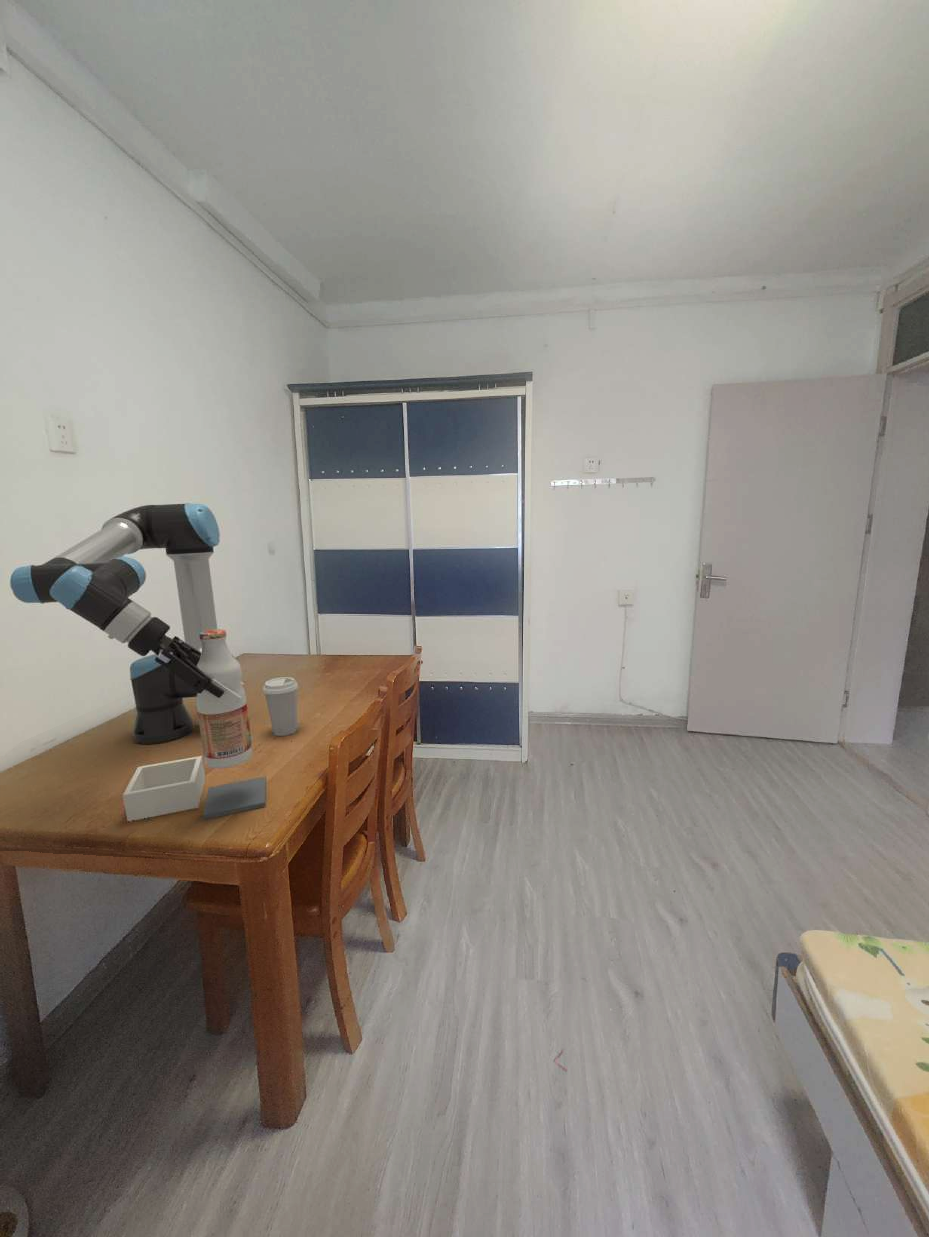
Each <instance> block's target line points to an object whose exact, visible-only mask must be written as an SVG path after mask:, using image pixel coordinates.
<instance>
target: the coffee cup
mask: <svg viewBox="0 0 929 1237" xmlns="http://www.w3.org/2000/svg"><path fill="white" fill-rule="evenodd" d="M298 688H299V684H298V683H297V681H296V680H295V678H293V677H289V676H287V677H285V676H284V677H282V676H281V677H276V678H271V679H269V680H267V681H265V683H264V686H263V687H262V693H263V694H264V696H265V701H266V706H267V709H268V713H269V714H268V715H269V719H270V723H271V724H270V725H271V728H272V732H273V735H274V736H277V737H285V736H286V737H287V736H291V735H293V734H295V733H296V732H297V731H298ZM290 734H291V735H290Z"/></svg>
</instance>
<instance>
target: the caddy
mask: <svg viewBox="0 0 929 1237" xmlns="http://www.w3.org/2000/svg"><path fill="white" fill-rule="evenodd" d="M205 781H206V772H205V766H204V760H203V756H202V755H200V756H194V757H193V756H192V757H189V758H182V759H175V760H170V761H163V762H159V763H154V764H147V765H141V766H137V768H136V770H135V772H134V774H133V776H132V778H131V779H130V781H129V783H128V785H127V786H126V789H125V791H124V792H123V794H122V797H123V798H122V799H123V804H124V810H125V815H126V820H127V822H128V821H130V822H133V821H132V820H135V821H139V820H144V818H145V819H148V817H149V818H152V817H153V818H155V817H158V816H163V815H169V814H173V813H179V812H182V811H183V812H184V811H187V810H188V811H189V810H194V809H198V808H199V806H200V803H201V802H200V801H201V798H202V794H203V791H204V787H205V784H206V782H205Z"/></svg>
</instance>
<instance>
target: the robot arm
mask: <svg viewBox="0 0 929 1237" xmlns="http://www.w3.org/2000/svg"><path fill="white" fill-rule="evenodd" d="M220 534H221V533H220V529H219V525H218V522H217V519H216V517H215V515H214V513H213V511H212V510H211V509H210V508H209V507H208V506H207V505H205V504H203V503H189V502H188V503H174V504H173V503H172V504H146V505H142V506H141V505H140V506H137V507H134V508H131V509H129V510H127V511H124V512H121V513H119V514H117V515H115V516H113V517H111V518H110V519H108V520H106V521H105V522H104V523H103V524H102V526H101V529H100V530H98V531H97V532H94V533H93V534H91V535H90V536H88V537H86V538H85V539H83V540H82V541H80V542H78V543H77V544H75V545H73V546H72V547H69V549H67V550H65V551H63V552H61V553H59V554H58V555H56V556H55V557H53V558H51V559H50V560H48V561H46V562H44V563H42V564H39V565H38V564H37V565H36V564H35V565H34V564H29V565H24V566H18V567H17V568H15V569H14V570H13V571H12V573H11V575H10V580H9V585H10V589H11V592H12V593H13V595H14V596H15V598H16V599H17V600H18V601H20V602H23V603H26V604H42V605H43V604H50V603H60V604H61V605H62V606H63V607H64V608H65V610H68V611H69V610H70V611H71V612H73V613H74V614H75V615H77V616H78V617H80V618H82V619H84V620H85V621H87V622H89V623H90V624H92V625H94V626H95V627H97V628H98V629H99V630H101V631H102V632H105V634H108V635H107V637H108V638H109V639H110V640H114V639H115V640H116V641H118V642H120V643H121V644H125V643H128V644H127V648H128V649H130V650H132V651H133V652H134V653H136V654H137V655H139V656H141V658H138V659H137V660H134V661H133V662H132V663H131V664H130V666H129V673H130V675H129V677H130V678H129V680H130V682H131V688H132V693H133V698H134V704H135V708H136V709H135V711H136V716H135V721H134V726H133V731H132V734H133V739H134V740H133V741H134V742H135V743H137V744H140V743H141V744H142V745H151V744H152V745H154V744H160V743H161V744H162V743H166V742H170V741H173V740H176V739H180V738H182V737H184V736H186V735H187V734H189V733H191V732H192V731H194V727H195V726H194V720H193V718H192V716H191V714H190V712H189V711H188V709H187V708H186V706H185V704H184V700H183V699H185V698H186V699H187V698H196V697H197V694H198V693H200V694H201V693H202V692H203V691H205V692H207V693H208V694H210V695H211V696H213V697H215V698H216V699H218V700H219V701H221V702H222V703H224V704H225V705H227V706H228V707H230V708H231V709H232V708H233V707H234V706H235V705H236V704H237V703H238V701H239V700H240V699H241V697H240V696H239V695H237V694H236V693H234V692H233V691H231V690H230V689H228V688H227V687H225V686H224V685H222V684H221V683H219V682H218V681H216V680H215V679H213V680H211V679H210V678H209V677H208V676H207V675H206V674H204V673H203V672H202V671H201V670H200V669H199V668H198V667H196V666H197V664H198V662H199V659H200V656H201V651H202V642H201V641H200V637H199V634H200V633H201V632H204V631H208V630H217V629H218V625H217V624H218V622H217V615H216V614H217V613H216V606H215V600H214V591H213V585H212V584H213V582H212V576H211V567H210V558H211V556H213V554H214V553H215V552H214V547H217V546H218V545H219V544H220V537H221V536H220ZM148 549H165V554H166V557H168V558H169V559H171V561H172V562H173V565H174V566H173V567H174V573H175V580H176V587H177V595H178V601H179V608H180V616H181V622H182V630H183V639H184V640H182V639H181V638H179V637H178V636H174V637H173V638H172V637H169V636H167V635H166V634H167V633H168V632H169V631H170V629H171V626H170V625H169V624H167V623H166V622H164V621H163V620H162V619H160V618H159V617H157V616H153V617H152V612H150V611H149V610H147V609H146V608H144V607H143V606H141V605H140V604H138V602H135V601H134V600H132V599H130V598H129V597H130V596H132V595H133V594H135V593H137V592H138V591H139V590H140V588H142V586H143V585H144V584H145V582H146V579H147V574H146V570H145V568H144V567H143V565H142V564H141V563H140V562H139V561H138V560H136V559H134V558H133V557H129V556H125V555H132V554H135V553H136V552H138V551H139V550H148ZM150 652H152V653H154V654H150V655H148V654H149V653H150ZM231 655H232V656H233V658H234V659H235V657H234V655H233V654H231ZM241 685H242V687H243V686H244V682H242V681H241Z"/></svg>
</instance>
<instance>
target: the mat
mask: <svg viewBox="0 0 929 1237" xmlns="http://www.w3.org/2000/svg"><path fill="white" fill-rule="evenodd" d="M266 798H267V777H266V775H265V776H261V777H256V778H250V779H245V780H239V781H235V782H231V783H230V782H229V783H225V784H219V785H213V786H209V787H208V789H207V793H206V797H205V802H204V806H203V810H202V814H201V816H202V821H203V820H209V819H212V818H218V817H223V816H227V815H233V814H236V813H241V812H246V811H252V810H256V809H261V808H265V807H266V803H267V802H266V801H267V800H266Z"/></svg>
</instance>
